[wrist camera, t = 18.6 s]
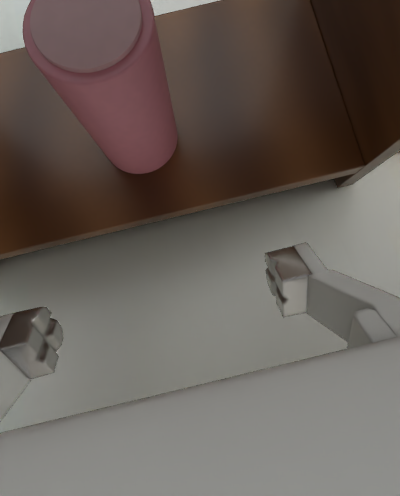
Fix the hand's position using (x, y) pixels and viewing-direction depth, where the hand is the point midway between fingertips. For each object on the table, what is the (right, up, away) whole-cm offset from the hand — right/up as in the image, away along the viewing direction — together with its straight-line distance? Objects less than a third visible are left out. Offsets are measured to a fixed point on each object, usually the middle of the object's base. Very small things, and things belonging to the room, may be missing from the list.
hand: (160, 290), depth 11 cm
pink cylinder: (-2, +8, +7) cm, 11 cm away
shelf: (-2, +9, +11) cm, 15 cm away
